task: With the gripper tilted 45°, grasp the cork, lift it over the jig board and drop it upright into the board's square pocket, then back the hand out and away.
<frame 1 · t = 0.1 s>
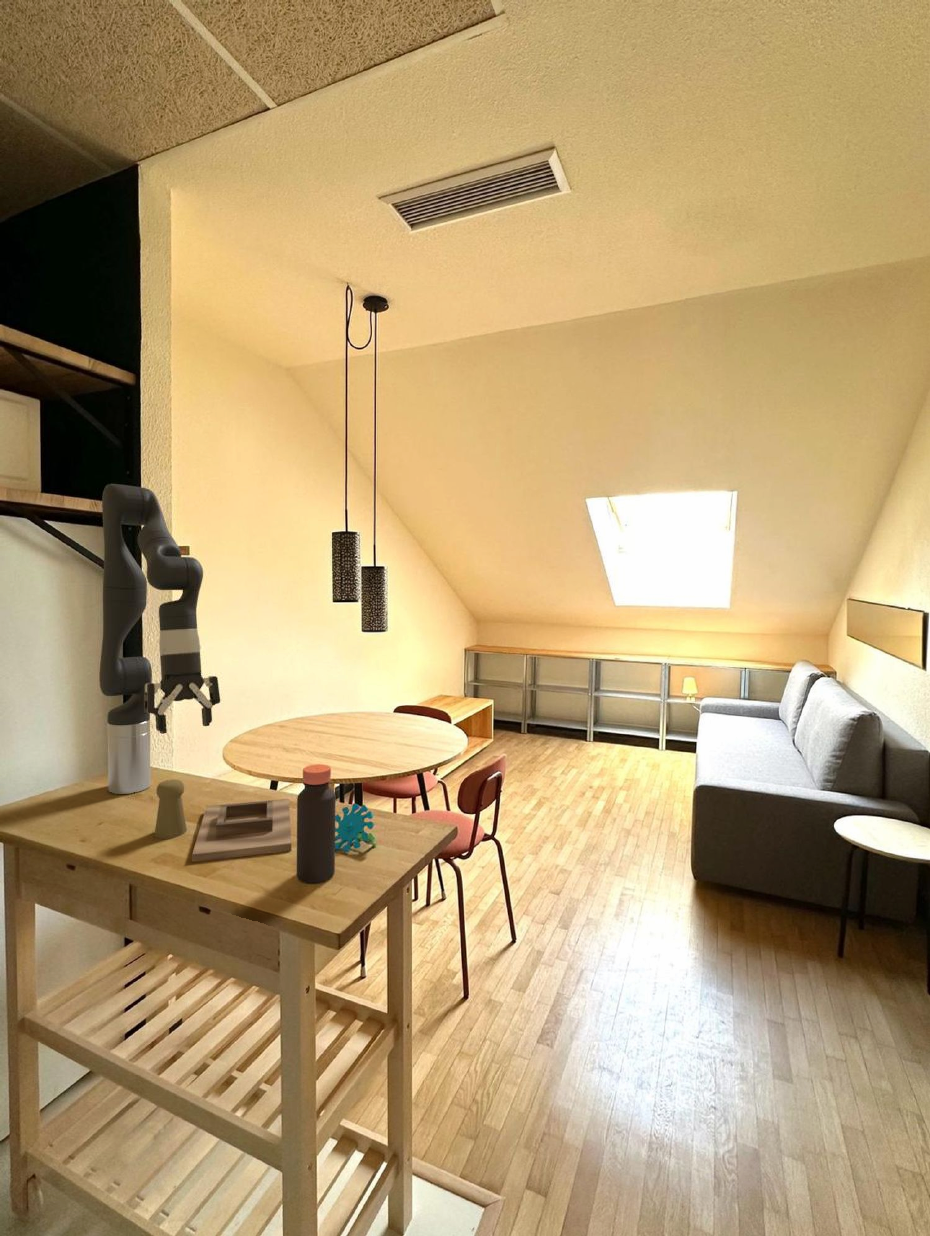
hand: (185, 729, 119), 22 cm above the table, tool pointing down, fingers open, 8 cm apart
cork: (170, 833, 120), on the table
jig board: (246, 830, 122), on the table
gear: (352, 846, 117), on the table
bottle: (315, 876, 105), on the table
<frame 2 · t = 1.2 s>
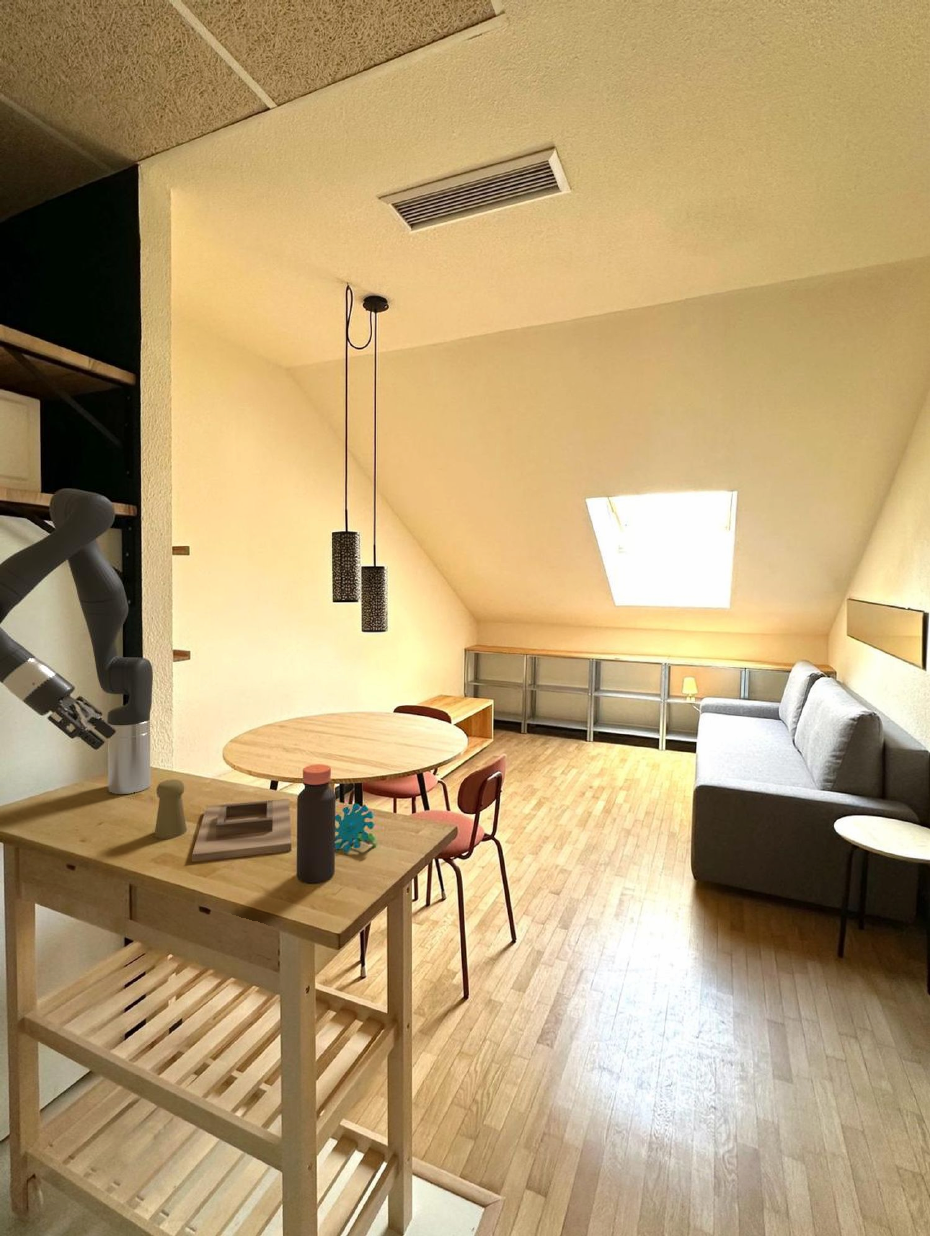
hand: (107, 740, 115), 20 cm above the table, tool tilted 45°, fingers open, 8 cm apart
nothing on the table moved.
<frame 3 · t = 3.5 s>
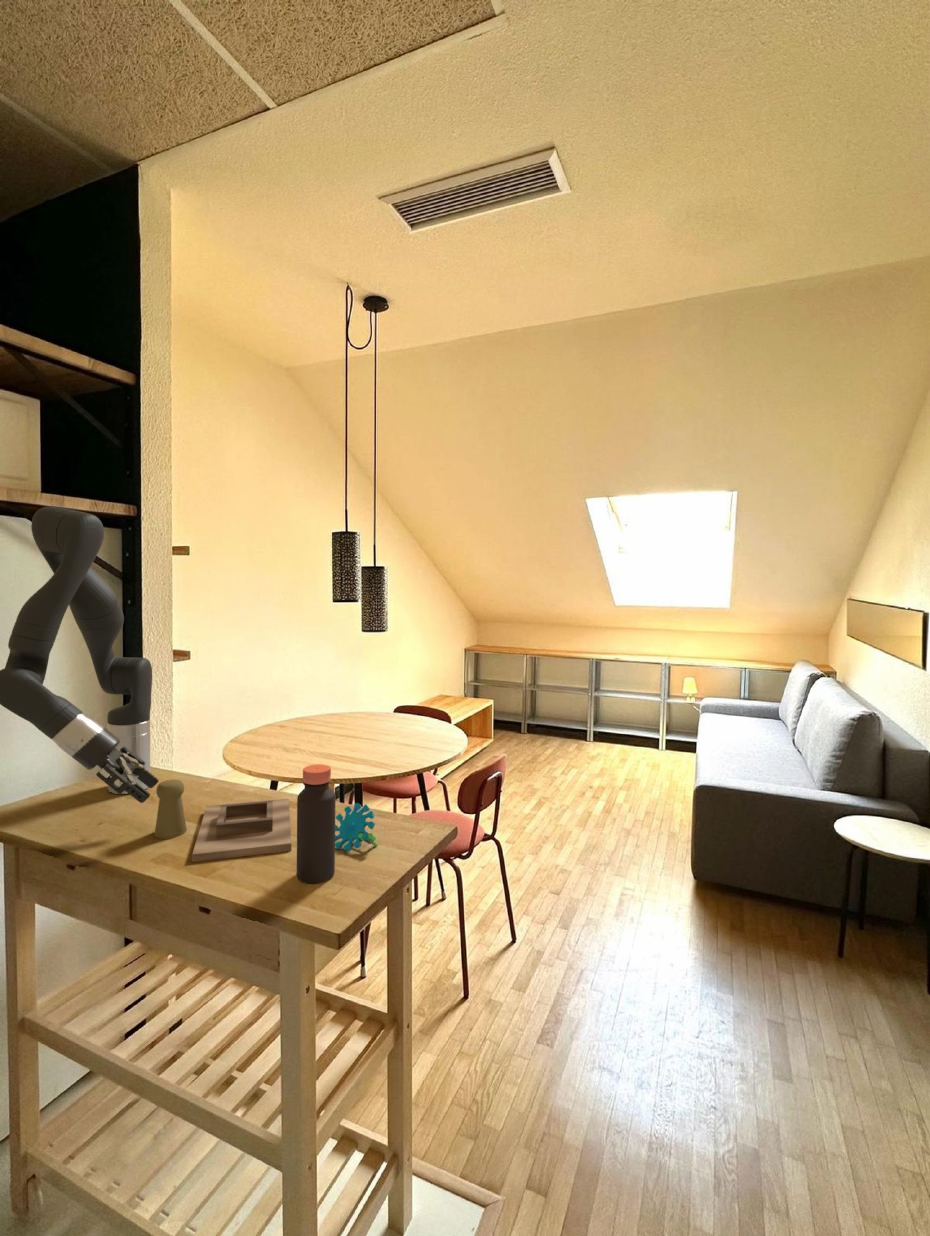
hand: (151, 791, 118), 9 cm above the table, tool tilted 45°, fingers open, 8 cm apart
nothing on the table moved.
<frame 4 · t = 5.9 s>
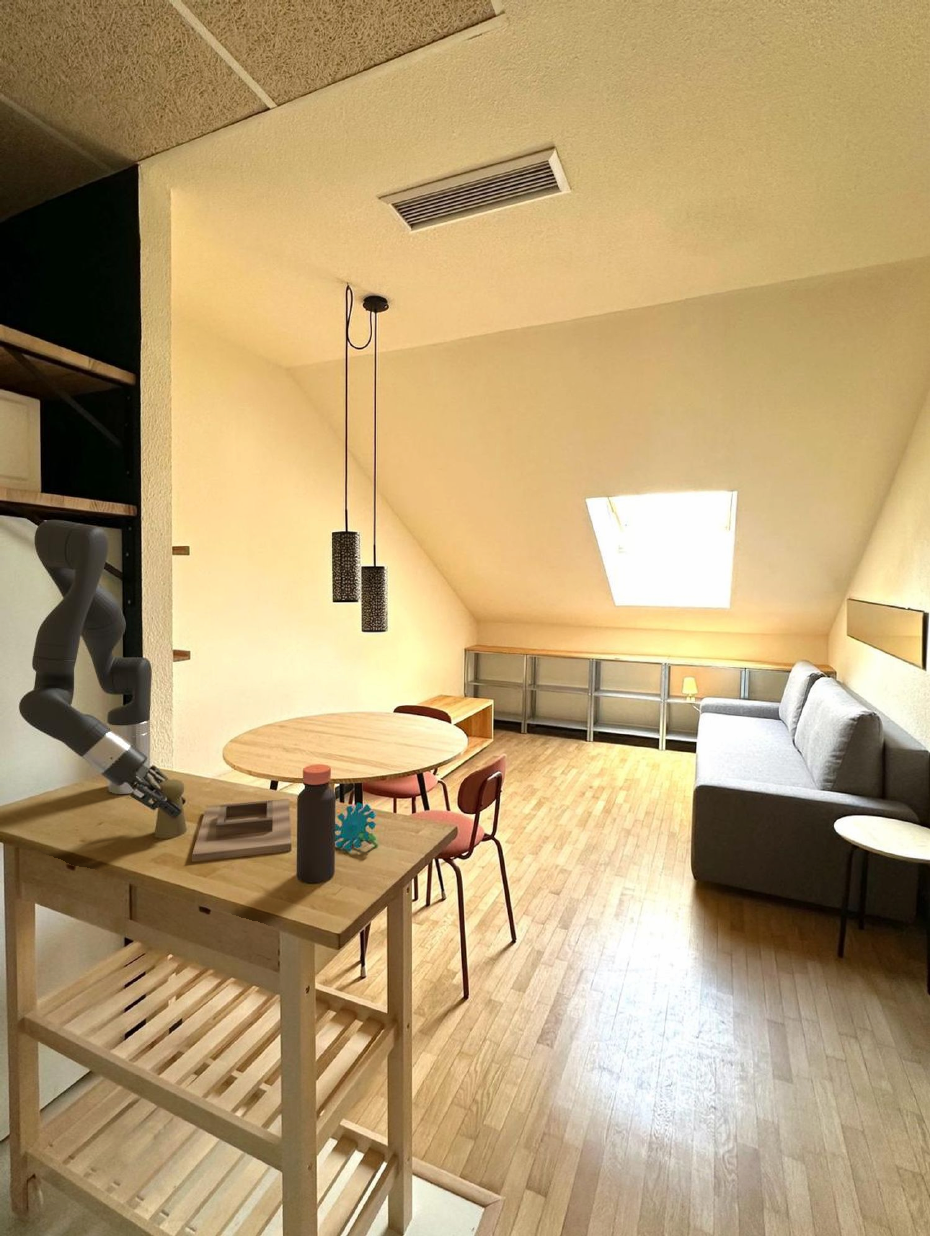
hand: (180, 809, 121), 5 cm above the table, tool tilted 45°, fingers closed on cork, 4 cm apart
cork: (170, 833, 120), on the table, touching gripper
everything else where it was.
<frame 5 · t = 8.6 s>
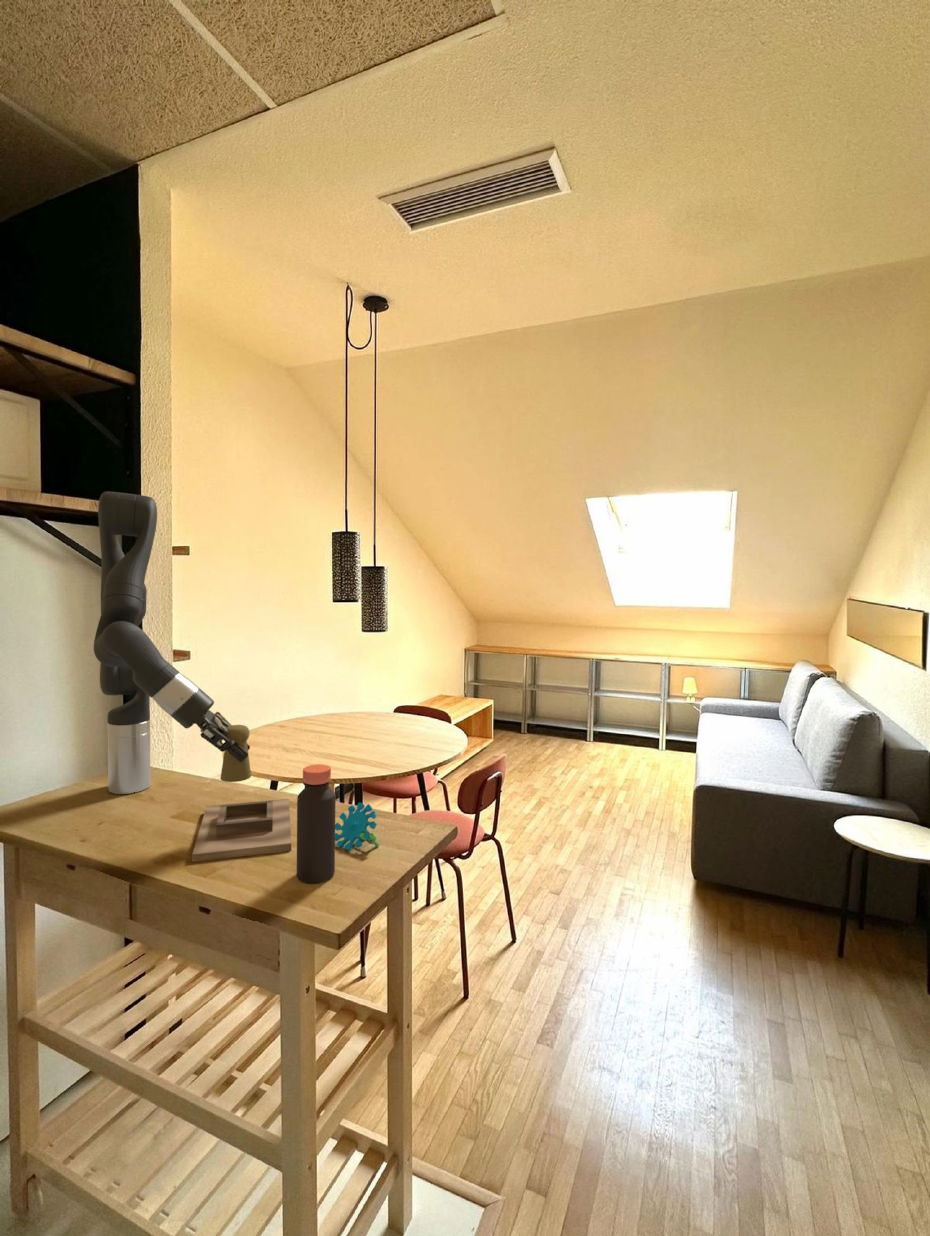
hand: (245, 754, 121), 17 cm above the table, tool tilted 45°, fingers closed on cork, 4 cm apart
cork: (235, 778, 120), point 12 cm above the table, touching gripper
everything else where it was.
when the fingers open (7 cm above the table, at t = 11.4 s): cork moves 1 cm, resting on jig board.
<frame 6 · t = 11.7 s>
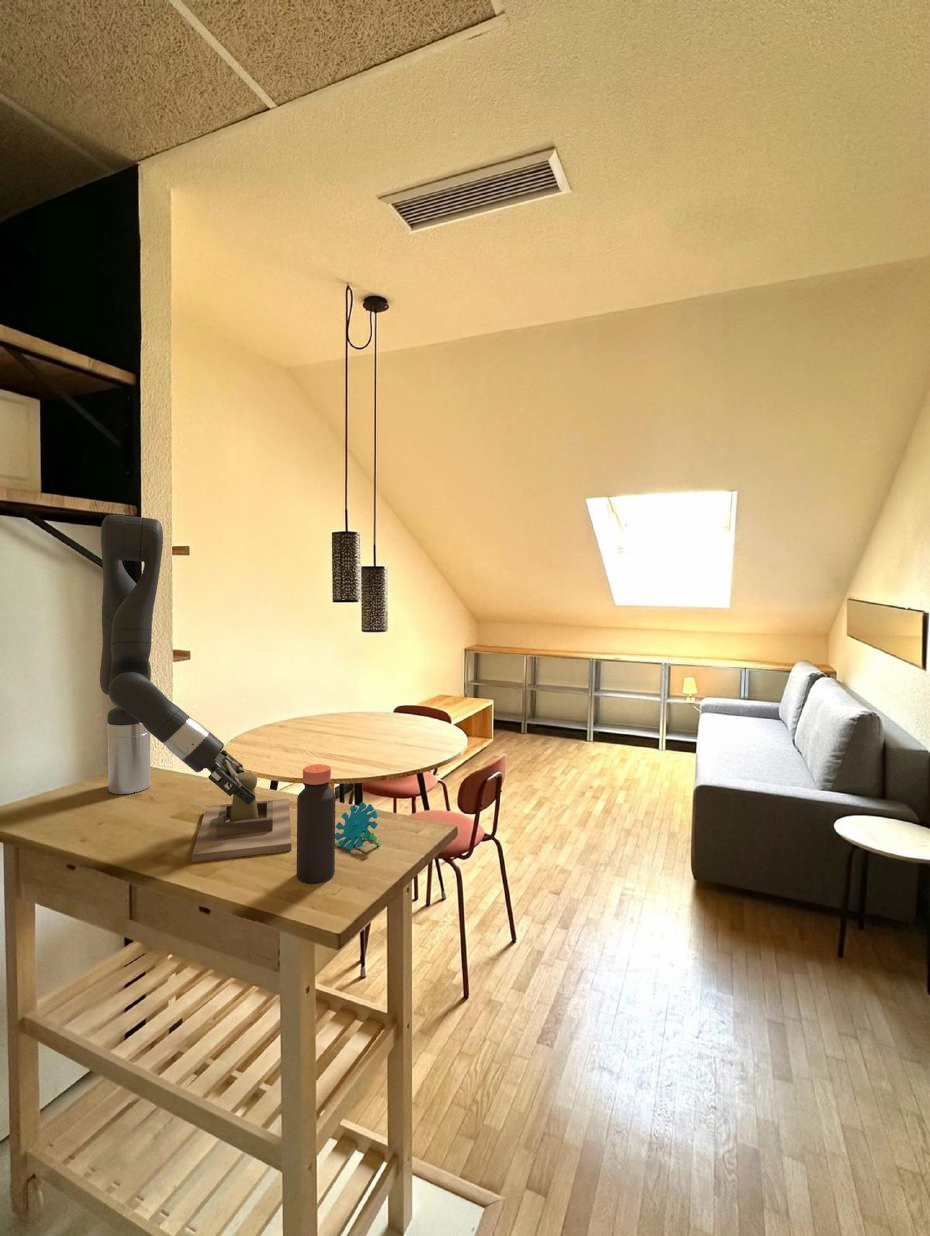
hand: (253, 793, 122), 8 cm above the table, tool tilted 45°, fingers open, 8 cm apart
cork: (244, 825, 122), point 1 cm above the table, touching jig board
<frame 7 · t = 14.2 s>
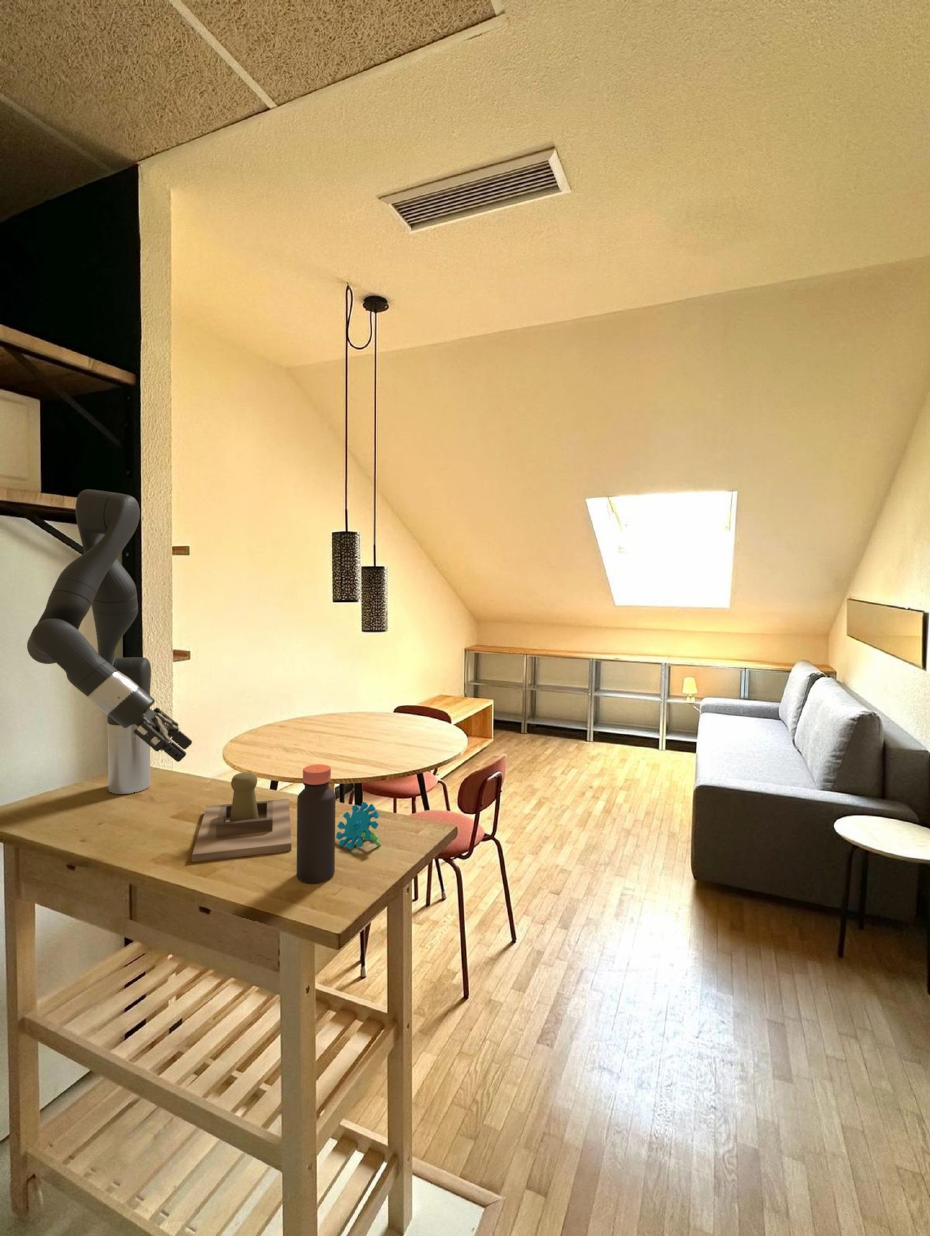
hand: (186, 751, 117), 18 cm above the table, tool tilted 45°, fingers open, 8 cm apart
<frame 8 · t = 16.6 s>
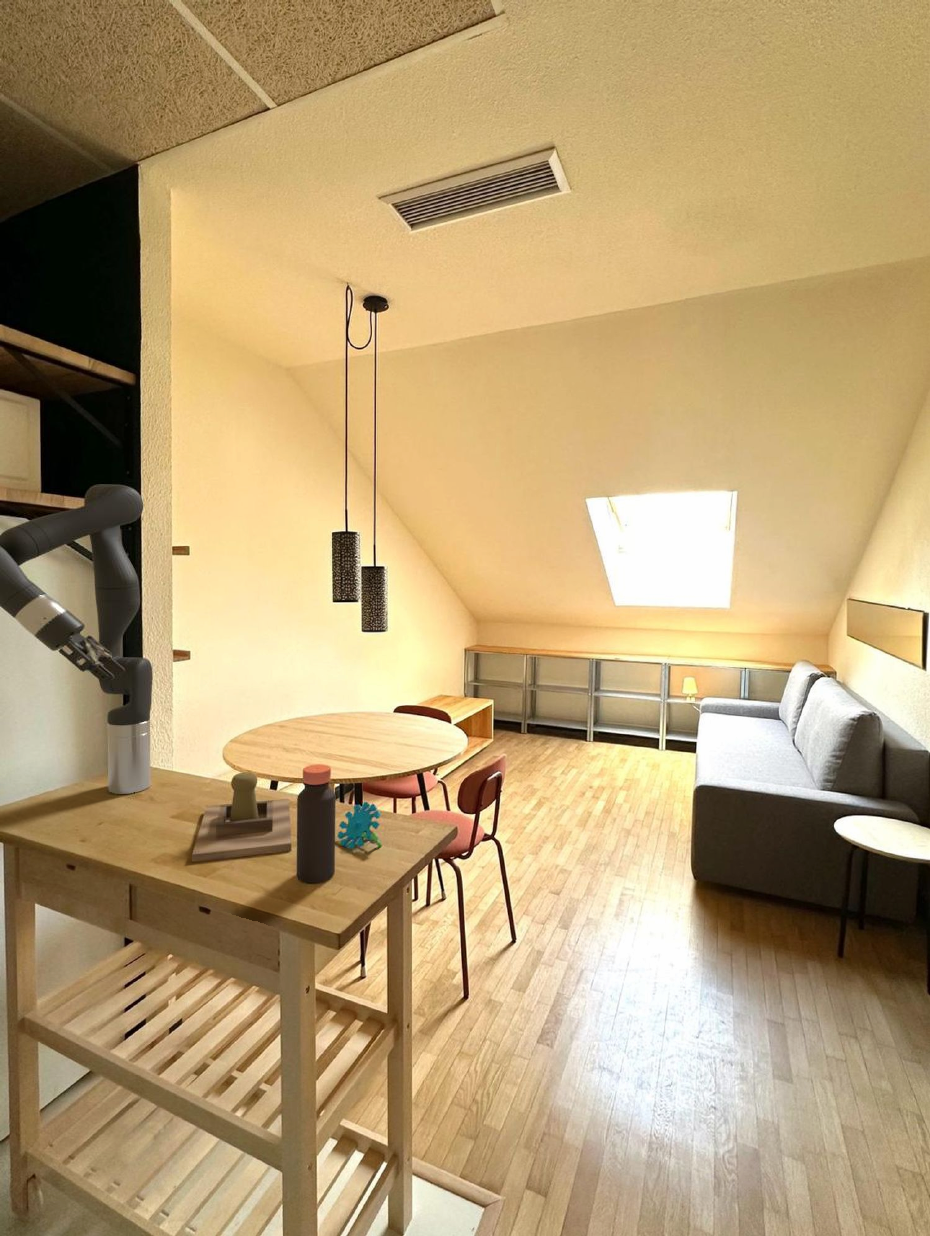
hand: (116, 677, 119), 33 cm above the table, tool tilted 45°, fingers open, 8 cm apart
at the end: cork 0.6 cm off-centre on the jig board, point 1.3 cm above the jig board's base; cork tilted 0°; the gripper is holding nothing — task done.
